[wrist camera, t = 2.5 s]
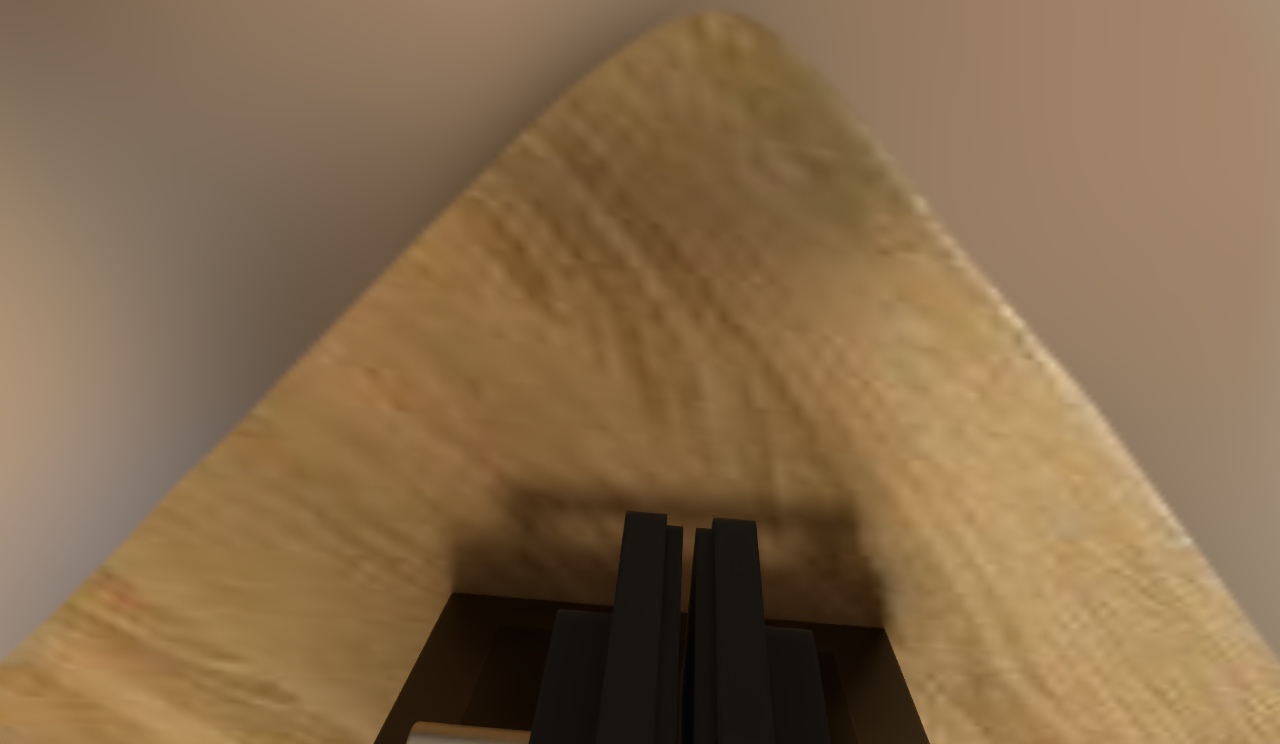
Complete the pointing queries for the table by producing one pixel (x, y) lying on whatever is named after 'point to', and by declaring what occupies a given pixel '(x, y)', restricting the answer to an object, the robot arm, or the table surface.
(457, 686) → the oven door
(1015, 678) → the table surface
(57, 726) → the table surface
